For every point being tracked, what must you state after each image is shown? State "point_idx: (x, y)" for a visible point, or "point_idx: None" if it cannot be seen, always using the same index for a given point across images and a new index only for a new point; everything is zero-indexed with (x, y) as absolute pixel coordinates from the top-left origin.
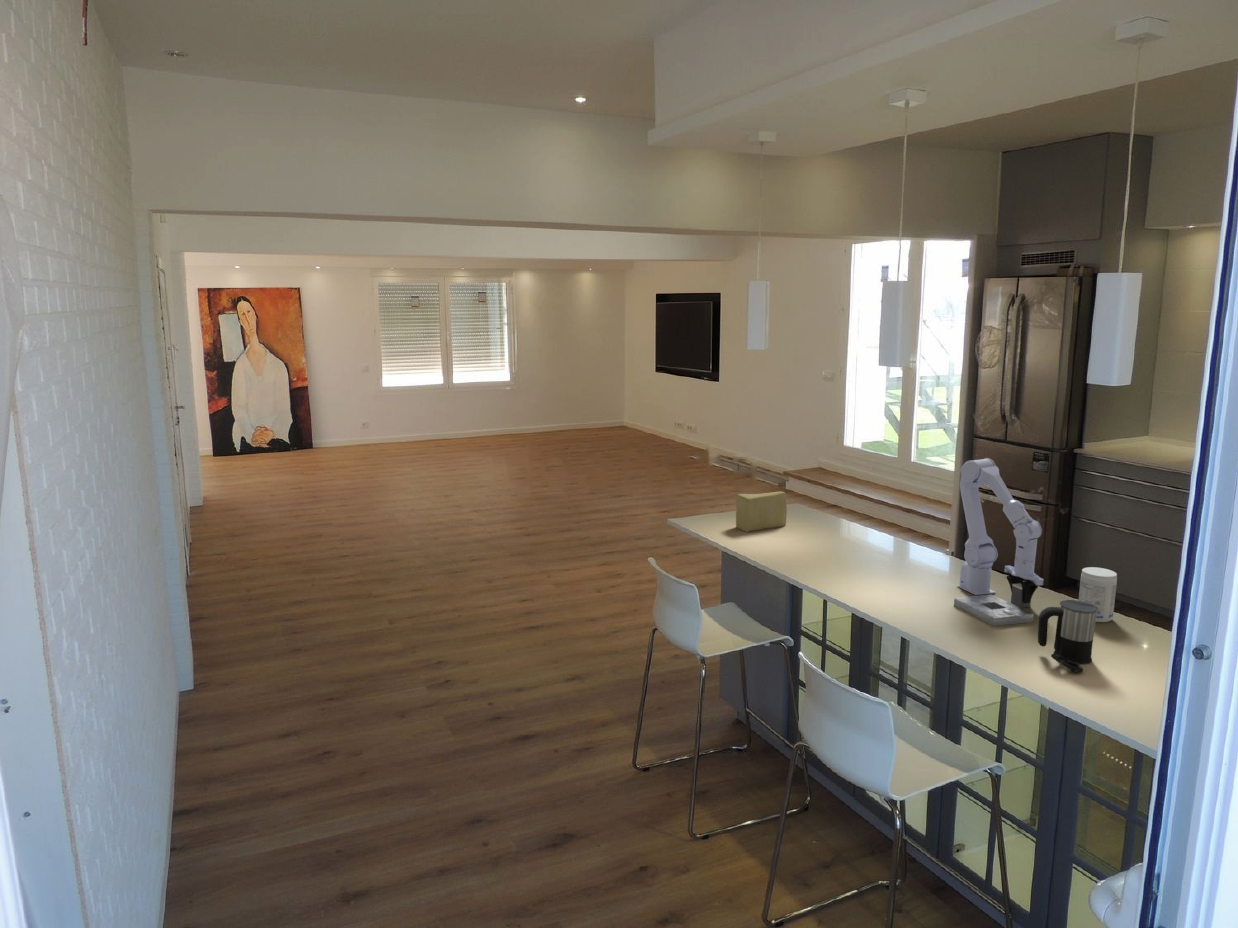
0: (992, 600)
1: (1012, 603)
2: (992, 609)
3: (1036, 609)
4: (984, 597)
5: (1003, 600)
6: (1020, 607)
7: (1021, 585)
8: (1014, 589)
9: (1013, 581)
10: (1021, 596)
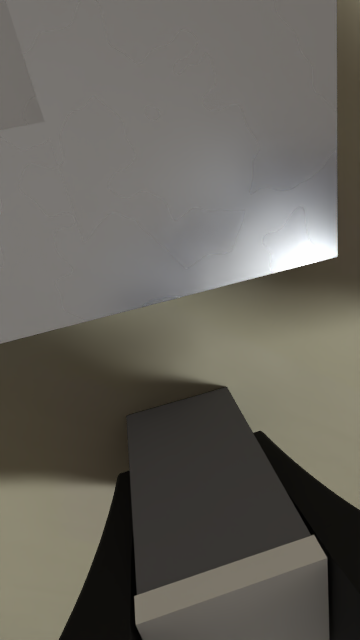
0: (116, 134)
1: (209, 396)
2: (2, 87)
3: (91, 506)
4: (251, 77)
5: (119, 296)
6: (129, 422)
7: (249, 632)
8: (251, 511)
9: (355, 610)
10: (133, 506)
